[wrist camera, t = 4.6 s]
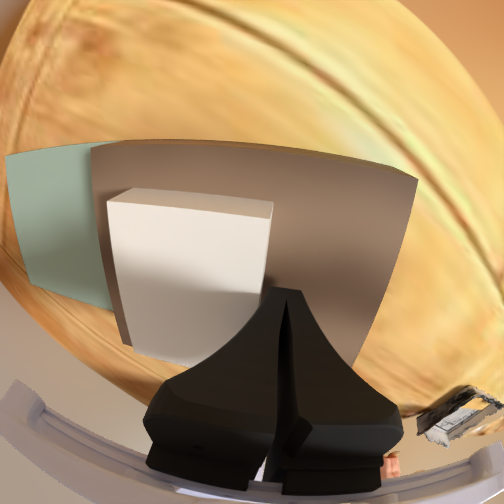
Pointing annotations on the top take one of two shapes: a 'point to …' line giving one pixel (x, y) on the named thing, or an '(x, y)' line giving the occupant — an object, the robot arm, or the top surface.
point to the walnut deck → (280, 218)
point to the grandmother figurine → (390, 465)
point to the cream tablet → (187, 268)
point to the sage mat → (58, 221)
